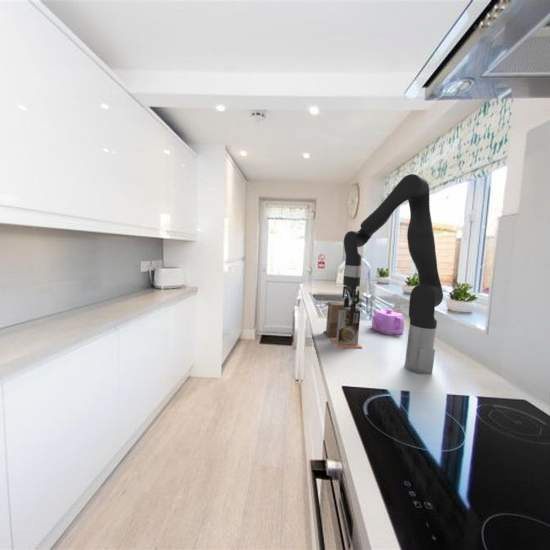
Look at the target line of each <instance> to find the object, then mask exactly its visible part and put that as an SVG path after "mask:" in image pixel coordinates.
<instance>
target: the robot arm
mask: <svg viewBox="0 0 550 550" xmlns="http://www.w3.org/2000/svg"><path fill="white" fill-rule="evenodd" d="M406 201H408V206H409V213H410V219H409V223H408V227H407V231H406V232H407V234H406V236H407V237H406V238H407V239H406V240H407V246H408V251H409V255H410V257H411V259H412V263H413V264H414V266H415V269H416V271H417V275H418V284H417V285H415V286H414V287H413V288H412V289H411V292H410V295H409V304H408V305H409V306H408V318H409V325H408V326H409V328H408V334H407V342H406V350H405V351H406V353H405V359H404V361H405V362H404V367H405V368H406V369H407V370H409V371H412V372H414V373H416V374H432V375H433V370H434V369H433V368H434V362H435V361H434V360H435V355H436V354H435V353H436V349H435V341H436V333H437V325H438V324H437V323H438V321H437V319H436V318H435V308H436V307H439V305H441V303H442V302H443V300H444V292H443V287H442V283H441V280H440V276H439V271H438V262H437V260H438V259H437V253H436V242H435V234H434V229H433V221H432V216H431V209H430V208H431V207H430V205H431V204H430V185H429V182H428V181H427V179H425V178H424V177H422V176H420V175H418V174H414V173H412V174H410V173H409V174H407V175H405V176H404V177H402V179H400V181H399V182H398V183H397V184H396V185H395V187H394V188H393V189H392V191H390V193H389V194H388V196H387V197H386V198H385V199H384V200H383V201H382V203H380V205H379V206H378V207H377V208H376V209H375V210H374V211H373V212H372V213H371V214H369V215H368V217H366V218H365V219H364V220H362V222H361V224H360V229H358V230H357V231H356V230H355V231H354V230H350V231H348V232H346V233H345V235H344V237H343V246H344V253H345V262H344V268H343V280H342V281H343V282H342V285H343V287H342V294H341V295H342V297H341V298H342V299H343V303H344V307H348V308H349V303H351V307H350V312H353V313H355V311H356V308H357V304H359V303H360V290H358V289H357V287H360V285H361V274H362V267H361V266H362V254H361V253H360V252H359V250H358V249H359V248H361V247H363V246H364V245H366V244H367V243H368V242H369V240H370V239H371V238H372V237H373V235H374V234H375V233H376V232H377V231H379V230H380V229H381V228H382V227H383V226H385V224H386V223H387V222H388V221H389V220H390V218H391V216H392V214H393V213H394V211H396V209H397V208H398V207H399V206H401V205H402V204H403V203H405V202H406Z"/></svg>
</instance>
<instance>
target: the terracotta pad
mask: <svg viewBox="0 0 550 550" xmlns="http://www.w3.org/2000/svg"><path fill="white" fill-rule="evenodd" d="M330 340H331V342H333V343H335V344H336V345H335V344H334V345H335V346H336V347H337V348H339V349H363V346H362V345H361V344H360V343H358V345H349V344H338V342H337V340H336V338H330Z"/></svg>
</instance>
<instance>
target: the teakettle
mask: <svg viewBox="0 0 550 550" xmlns="http://www.w3.org/2000/svg"><path fill="white" fill-rule="evenodd" d="M373 313H374V314H373V315H372V320H371V327H372V329H373V330H374V329H375V330H374V331H376V330H377V332H378V333H382V334H385V335H387V336H393V335H403V334H404V329H405V322H404V321H405V318H404V314H403V313H398V312H396V311H395V312H394V311H393V309H391V308H387V309H386V310H373Z"/></svg>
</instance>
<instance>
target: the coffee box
mask: <svg viewBox="0 0 550 550" xmlns="http://www.w3.org/2000/svg"><path fill="white" fill-rule="evenodd" d="M360 317H361V310H360V309H359V308H358V307H356V311H355V313H353V312H350V308H348V307H339V314H338V326H337V338H336V340H337V342H338V344H349V345H358V344H359V333H360V332H359V331H360V321H361V318H360Z"/></svg>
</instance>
